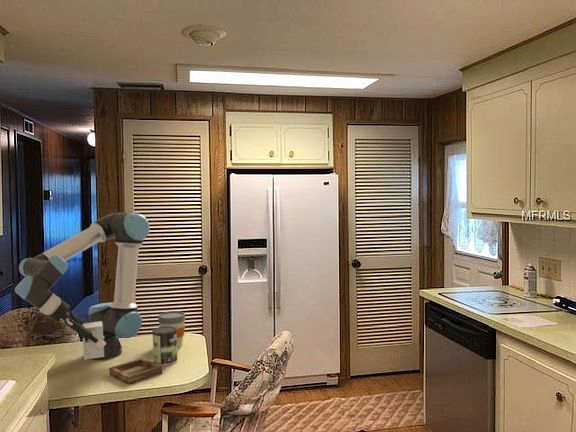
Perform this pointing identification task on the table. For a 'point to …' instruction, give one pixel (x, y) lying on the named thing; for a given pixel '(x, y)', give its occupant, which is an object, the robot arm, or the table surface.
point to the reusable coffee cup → (174, 323)
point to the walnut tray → (135, 371)
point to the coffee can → (165, 345)
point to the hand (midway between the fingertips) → (102, 342)
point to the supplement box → (88, 346)
